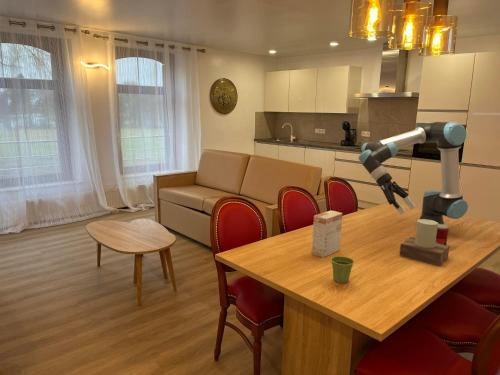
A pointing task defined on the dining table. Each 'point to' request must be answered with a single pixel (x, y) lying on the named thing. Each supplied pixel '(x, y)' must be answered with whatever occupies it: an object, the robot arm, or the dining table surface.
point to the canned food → (442, 234)
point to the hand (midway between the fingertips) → (408, 210)
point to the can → (426, 233)
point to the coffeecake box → (326, 233)
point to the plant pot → (341, 268)
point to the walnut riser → (424, 252)
